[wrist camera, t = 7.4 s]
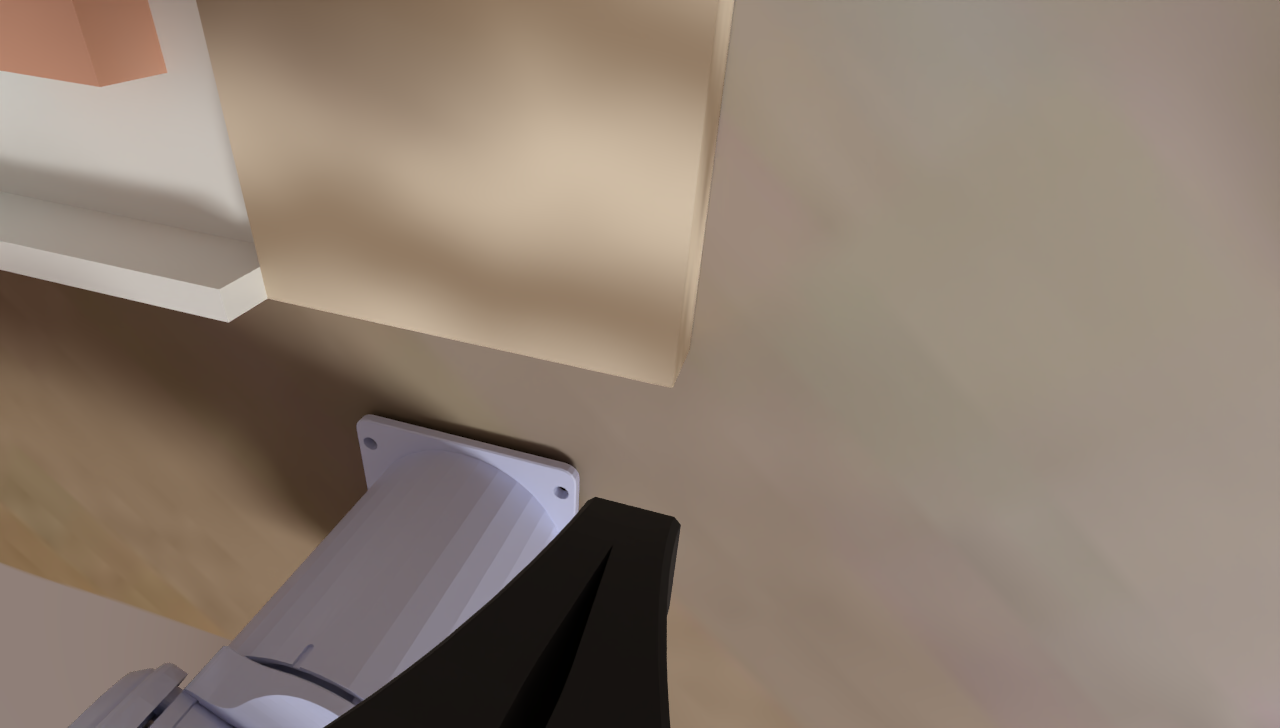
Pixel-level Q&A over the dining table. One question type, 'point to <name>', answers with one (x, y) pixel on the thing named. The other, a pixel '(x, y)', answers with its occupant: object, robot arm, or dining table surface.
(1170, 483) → the dining table surface
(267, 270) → the birch plate
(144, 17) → the terracotta tile
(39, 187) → the box
